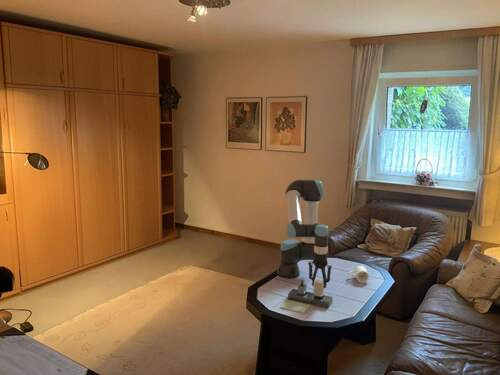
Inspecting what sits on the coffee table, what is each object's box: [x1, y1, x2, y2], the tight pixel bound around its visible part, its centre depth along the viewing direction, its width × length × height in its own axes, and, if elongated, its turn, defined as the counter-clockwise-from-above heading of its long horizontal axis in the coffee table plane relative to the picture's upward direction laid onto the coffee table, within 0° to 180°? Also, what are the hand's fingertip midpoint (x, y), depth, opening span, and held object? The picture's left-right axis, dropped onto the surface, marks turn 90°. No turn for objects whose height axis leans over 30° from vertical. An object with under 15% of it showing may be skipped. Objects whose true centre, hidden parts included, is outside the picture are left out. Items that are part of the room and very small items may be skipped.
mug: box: [348, 265, 370, 283], centre depth 267 cm, size 12×10×8 cm
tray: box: [279, 299, 311, 314], centre depth 226 cm, size 14×10×1 cm
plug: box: [313, 279, 324, 297], centre depth 230 cm, size 4×4×8 cm
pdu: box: [287, 279, 334, 309], centre depth 233 cm, size 24×8×12 cm, turn 64°
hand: (318, 291), depth 231 cm, fingers closed on plug, 4 cm apart
